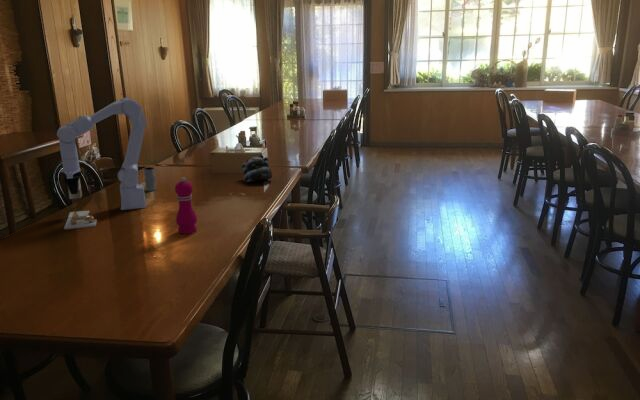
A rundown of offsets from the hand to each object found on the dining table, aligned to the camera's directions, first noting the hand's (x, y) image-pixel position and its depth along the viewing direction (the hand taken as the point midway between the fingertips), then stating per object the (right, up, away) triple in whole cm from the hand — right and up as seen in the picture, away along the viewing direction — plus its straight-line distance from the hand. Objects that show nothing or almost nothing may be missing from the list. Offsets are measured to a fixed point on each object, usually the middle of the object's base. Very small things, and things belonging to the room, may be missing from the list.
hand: (75, 192), depth 198 cm
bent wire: (+6, -11, -6) cm, 13 cm away
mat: (0, -9, +3) cm, 9 cm away
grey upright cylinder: (+17, +1, +37) cm, 41 cm away
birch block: (0, -2, +1) cm, 2 cm away
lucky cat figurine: (+64, +6, +51) cm, 82 cm away
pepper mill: (+48, -14, -16) cm, 52 cm away
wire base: (+5, -12, -6) cm, 14 cm away
